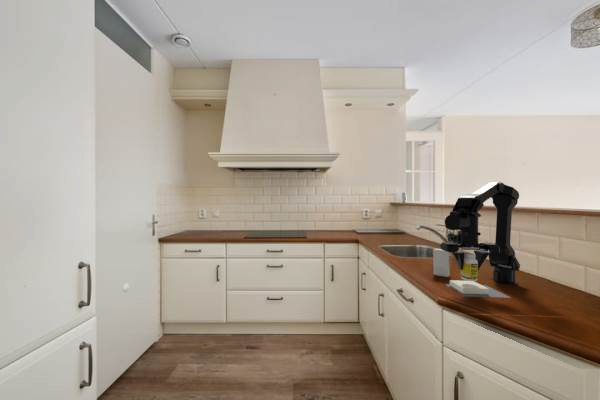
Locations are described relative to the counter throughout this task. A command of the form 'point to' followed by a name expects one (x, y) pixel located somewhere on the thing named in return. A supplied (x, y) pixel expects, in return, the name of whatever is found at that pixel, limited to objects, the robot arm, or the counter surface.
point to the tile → (469, 287)
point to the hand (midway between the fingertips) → (469, 269)
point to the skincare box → (441, 262)
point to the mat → (491, 294)
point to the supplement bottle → (470, 267)
